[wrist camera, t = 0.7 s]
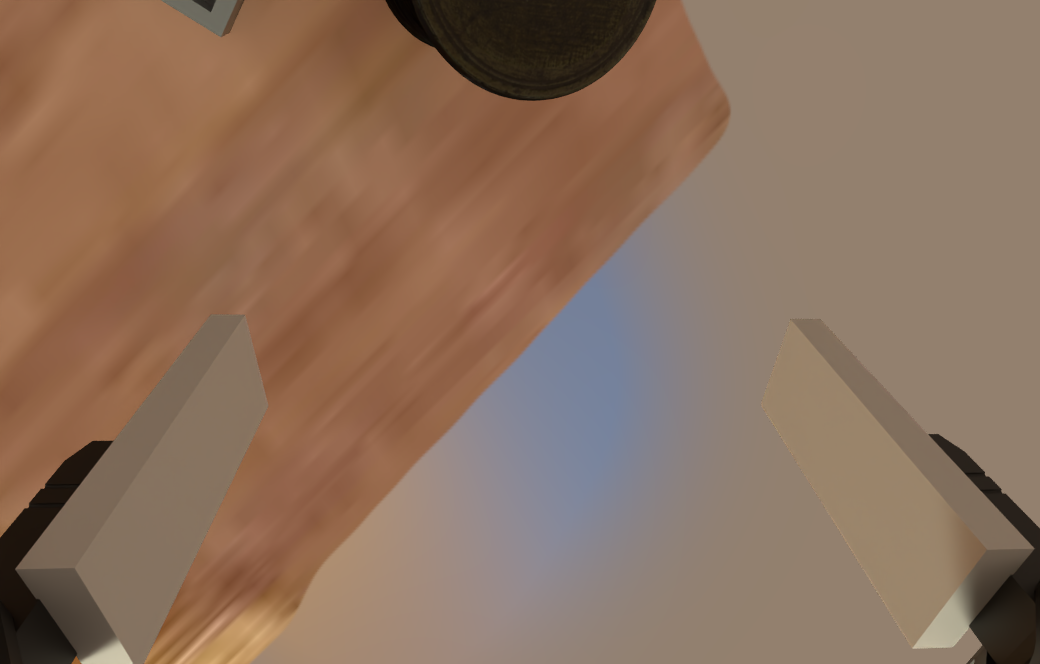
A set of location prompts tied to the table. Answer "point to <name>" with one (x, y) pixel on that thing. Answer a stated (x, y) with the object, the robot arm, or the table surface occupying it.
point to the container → (527, 40)
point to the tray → (210, 13)
